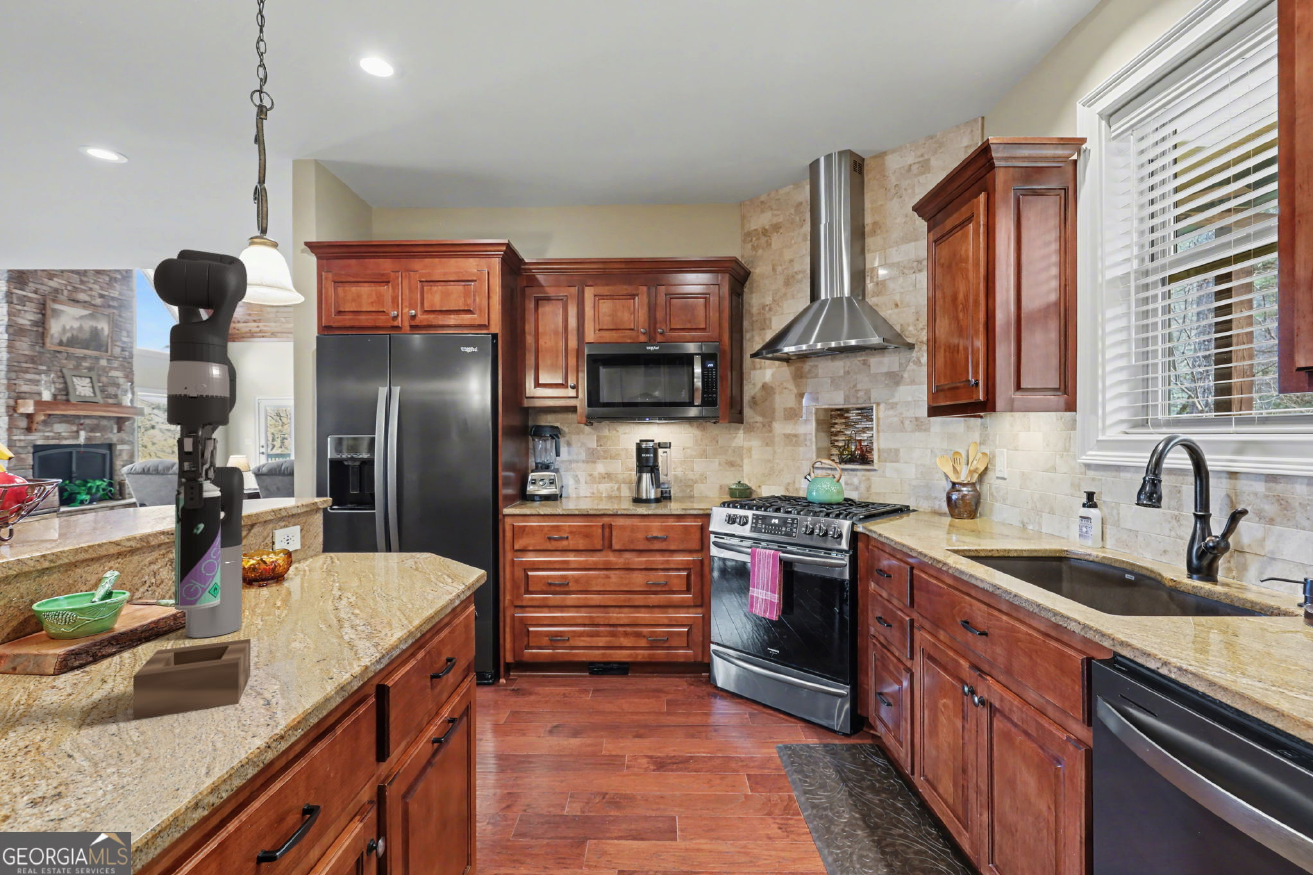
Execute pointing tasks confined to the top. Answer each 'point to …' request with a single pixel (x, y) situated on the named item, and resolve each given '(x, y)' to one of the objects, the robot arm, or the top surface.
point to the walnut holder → (191, 678)
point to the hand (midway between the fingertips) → (198, 505)
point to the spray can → (198, 550)
